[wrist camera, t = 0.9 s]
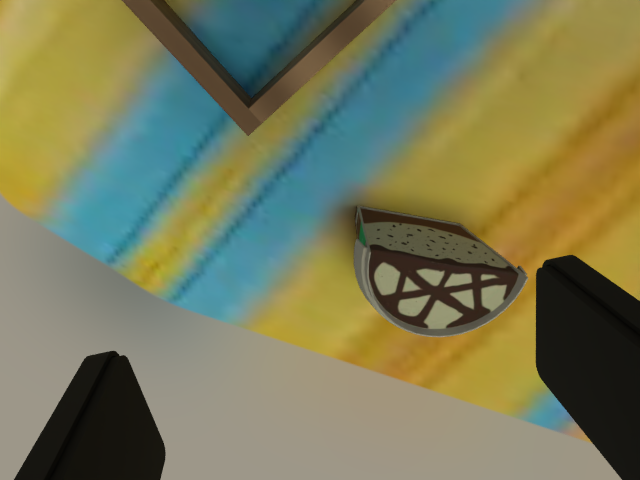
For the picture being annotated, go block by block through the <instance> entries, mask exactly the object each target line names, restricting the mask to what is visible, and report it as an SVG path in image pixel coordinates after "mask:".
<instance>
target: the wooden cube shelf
mask: <svg viewBox="0 0 640 480" xmlns="http://www.w3.org/2000/svg"><path fill="white" fill-rule="evenodd" d="M122 1H123V2H124V3H125V4H126V5H127V6H128V7H129V8H130V9H131V11H132V12H133V13H134V14H135V15H136V16H137V17H138V18H139V19H140V20H141V21H142V22H143V23H144V25H145V26H146V27H147V28H148V29H149V30H150V31H151V32H152V33H153V34H154V35H155V36H156V37H157V39H158V40H159V41H160V42H161V43H162V44H163V45H164V46H165V47H166V48H167V49H168V50H169V51H170V53H171V54H172V55H173V56H174V57H175V58H176V59H177V60H178V61H179V62H180V63H181V64H182V65H183V67H184V68H185V69H186V70H187V71H188V72H189V73H190V74H191V75H192V76H193V77H194V78H195V79H196V81H197V82H198V83H199V84H200V85H201V86H202V87H203V88H204V89H205V90H206V91H207V92H208V93H209V94H210V96H211V97H212V98H213V99H214V100H215V101H216V102H217V103H218V104H219V105H220V106H221V107H222V108H223V110H224V111H225V112H226V113H227V114H228V115H229V116H230V117H231V118H232V119H233V120H234V121H235V122H236V124H237V125H238V126H239V127H240V128H241V129H242V130H243V131H244V132H245V133H246V134H247V135H248V136H249V135H250V134H251V133H252V132H253V131H254V130H255V129H256V128H257V127H258V126H259V125H261V124H262V123H263V122H264V121H265V120H266V119H267V118H268V117H269V116H270V115H271V114H273V113H274V112H275V111H276V110H277V109H278V108H279V107H280V106H281V105H282V104H283V103H285V102H286V101H287V100H288V99H289V98H290V97H291V96H292V95H293V94H294V93H295V92H297V91H298V90H299V89H300V88H301V87H302V86H303V85H304V84H305V83H306V82H307V81H309V80H310V79H311V78H312V77H313V76H314V75H315V74H316V73H317V72H318V71H319V70H321V69H322V68H323V67H324V66H325V65H326V64H327V63H328V62H329V61H330V60H331V59H333V58H334V57H335V56H336V55H337V54H338V53H339V52H340V51H341V50H342V49H343V48H344V47H346V46H347V45H348V44H349V43H350V42H351V41H352V40H353V39H354V38H355V37H356V36H358V35H359V34H360V33H361V32H362V31H363V30H364V29H365V28H366V27H367V26H368V25H370V24H371V23H372V22H373V21H374V20H375V19H376V18H377V17H378V16H379V15H380V14H382V13H383V12H384V11H385V10H386V9H387V8H388V7H389V6H390V5H391V4H392V3H394V2H395V1H396V0H356V1H355V2H354V3H353V4H352V5H351V6H350V7H349V8H348V9H347V10H346V11H345V12H344V13H342V14H341V15H340V16H339V17H338V18H337V19H336V20H335V21H334V22H333V23H332V24H331V25H330V26H329V27H327V28H326V29H325V30H324V31H323V32H322V33H321V34H320V35H319V36H318V37H317V38H316V39H315V40H314V41H313V42H311V43H310V44H309V45H308V46H307V47H306V48H305V49H304V50H303V51H302V52H301V53H300V54H299V55H298V56H296V57H295V58H294V59H293V60H292V61H291V62H290V63H289V64H288V65H287V66H286V67H285V68H284V69H283V70H282V71H280V72H279V73H278V74H277V75H276V76H275V77H274V78H273V79H272V80H271V81H270V82H269V83H268V84H267V85H265V86H264V87H263V88H262V89H261V90H260V91H259V92H258V93H257V94H256V95H255V96H254V97H253V98H251V97H250V96H249V95H248V94H247V93H246V92H245V90H244V89H243V88H242V87H241V86H240V85H239V84H238V83H237V82H236V80H235V79H234V78H233V77H232V76H231V75H230V74H229V73H228V71H227V70H226V69H225V68H224V67H223V66H222V65H221V64H220V62H219V61H218V60H217V59H216V58H215V57H214V56H213V55H212V54H211V52H210V51H209V50H208V49H207V48H206V47H205V46H204V45H203V43H202V42H201V41H200V40H199V39H198V38H197V37H196V36H195V34H194V33H193V32H192V31H191V30H190V29H189V28H188V27H187V25H186V24H185V23H184V22H183V21H182V20H181V19H180V18H179V17H178V15H177V14H176V13H175V12H174V11H173V10H172V9H171V8H170V6H169V5H168V4H167V3H166V2H165V1H164V0H122Z"/></svg>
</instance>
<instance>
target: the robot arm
mask: <svg viewBox="0 0 640 480" xmlns="http://www.w3.org/2000/svg"><path fill="white" fill-rule="evenodd" d="M536 367H537V371H538V374H539V376H540V378H541V379H542V381H543V382H544V383H545V384H546V386H547V387H548V388H549V389H550V391H551V392H552V393H553V394H554V396H555V397H556V398H557V399H558V401H559V402H560V403H561V404H562V406H563V407H564V408H565V409H566V410H567V412H568V413H569V414H570V415H571V417H572V418H573V419H574V420H575V422H576V423H577V424H578V425H579V427H580V428H581V429H582V430H583V432H584V433H585V434H586V435H587V437H588V438H589V439H590V440H591V442H592V443H593V444H594V445H595V447H596V448H597V449H598V450H599V451H600V453H601V454H602V455H603V456H604V458H605V459H606V460H607V461H608V463H609V464H610V465H611V466H612V467H613V469H614V470H615V471H616V473H617V474H618V475H619V476H620V477H621V479H622V480H640V301H639V300H637V299H636V298H634V297H633V296H632V295H630V294H629V293H627V292H626V291H624V290H623V289H622V288H620V287H619V286H617V285H616V284H614V283H613V282H612V281H610V280H609V279H607V278H606V277H604V276H603V275H602V274H600V273H599V272H597V271H596V270H594V269H593V268H592V267H590V266H589V265H587V264H586V263H584V262H583V261H582V260H580V259H579V258H577V257H576V256H574V255H568V256H563V257H558V258H553V259H549V260H546V261H545V262H544V263H543V267H542V268H539V269H538V270H537V273H536ZM164 462H165V447H164V443H163V440H162V438H161V435H160V433H159V431H158V428H157V426H156V424H155V421H154V419H153V417H152V414H151V412H150V409H149V407H148V405H147V403H146V400H145V398H144V395H143V393H142V391H141V388H140V386H139V384H138V381H137V379H136V376H135V374H134V372H133V370H132V367H131V365H130V363H129V360H128V358H127V357H126V356H124V355H123V356H119V354H118V353H117V352H116V351H110V352H105V353H100V354H96V355H90V356H87V357H86V358H85V359H84V361H83V362H82V364H81V366H80V368H79V369H78V371H77V373H76V374H75V376H74V378H73V379H72V381H71V383H70V385H69V386H68V388H67V390H66V391H65V393H64V395H63V397H62V398H61V400H60V402H59V403H58V405H57V407H56V409H55V410H54V412H53V414H52V416H51V417H50V419H49V421H48V422H47V424H46V426H45V427H44V429H43V431H42V432H41V434H40V436H39V438H38V440H37V441H36V443H35V445H34V446H33V448H32V450H31V451H30V453H29V455H28V456H27V458H26V460H25V462H24V463H23V465H22V467H21V469H20V470H19V472H18V474H17V475H16V477H15V479H14V480H160V478H161V474H162V470H163V466H164Z"/></svg>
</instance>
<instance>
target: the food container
mask: <svg viewBox="0 0 640 480" xmlns="http://www.w3.org/2000/svg"><path fill="white" fill-rule="evenodd" d="M355 223H356V231H357V237H358V239H356V242H355V248H354V268H355V274H356V278H357V281H358V284H359V286H360V289H361V290H362V292H363V294H364V296H365V297H366V299H367V300H368V301H369V302H370V304H371V305H372V306H373V307H374V308H375V309H376V310H377V311H378V313H379V314H380V315H382V316H383V317H384V318H385V319H386V320H388V321H389V322H390V323H392V324H394V325H395V326H397V327H399V328H401V329H403V330H406V331H408V332H411V333H414V334H417V335H422V336H427V337H447V336H454V335H459V334H464V333H466V332H469V331H472V330H475V329H477V328H479V327H481V326H483V325H485V324H487V323H489V322H490V321H492V320H493V319H495V318H496V317H498V316H499V315H500V314H501V313H502V312H503V311H505V310H506V309H507V308H508V307H509V306H510V305H511V303H512V302H513V301H514V300H515V299H516V298H517V296H518V295H519V293H520V292H521V290H522V289H523V287H524V285H525V283H526V281H527V279H528V277H527V276H526V275H527V274H526V272H525V271H524V270H523V268H522V267H521V266H518V268H516V267H515V266H513V265H512V264H511V263H510V262H508V261H507V260H506V259H505V258H503V257H502V256H501V255H499V254H498V253H497V252H496V251H494V250H493V249H492V248H491V247H489V246H488V245H487V244H485V243H484V242H483V241H482V240H480V239H479V238H478V237H477V236H475V235H474V234H473V233H471V232H470V231H469V230H468V229H466V228H465V227H464V226H463V225H461V224H460V223H454V222H448V221H443V220H437V219H432V218H426V217H420V216H415V215H409V214H404V213H398V212H392V211H387V210H381V209H376V208H370V207H364V206H359V205H357V208H356V214H355Z"/></svg>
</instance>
